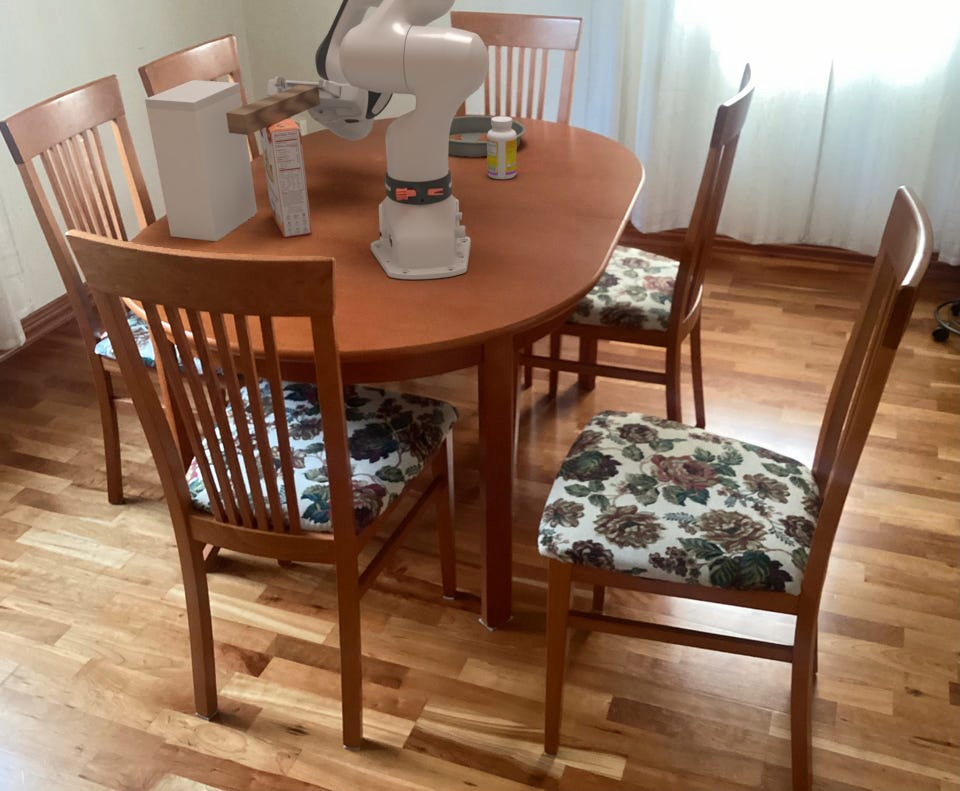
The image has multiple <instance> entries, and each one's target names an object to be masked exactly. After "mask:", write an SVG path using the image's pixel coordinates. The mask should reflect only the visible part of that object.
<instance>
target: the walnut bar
mask: <svg viewBox="0 0 960 791" xmlns="http://www.w3.org/2000/svg"><path fill="white" fill-rule="evenodd" d="M318 105H320V98H319V88H318V86H311V85H298V86H296V87H293V88H291V89H288V90H285V91H283V92H280V93H277V94H275V95H272V96H269V97H267V96H266V97H265V98H262V99H259V100H256V101H254V102H251V103H249V104H246V105H242V106H243V107H240V108H238V109H235V110H232V111H230V112H227V113H226V115H227V122H228V129H229V133H235V134H243V135H247V136H248V135H251V134H253V133H256V132H258V131H260V130H261V129H263V128H266V127H268V126H270V125H273V124H275V123H277V122H280V121H282V120H284V119H287V118H289V117H291V118H292V117H294V116H296V115H298V114H300V113H301V114H302V113H303V112H306V111H308V109H311V108H313V107H315V106H318Z"/></svg>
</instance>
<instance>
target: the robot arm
mask: <svg viewBox="0 0 960 791" xmlns="http://www.w3.org/2000/svg"><path fill="white" fill-rule="evenodd" d="M455 2H456V0H342V3H341V4H340V6H339V9H338V11H337V12H336V15H335V17H334V20H333V21H332V24H331V26H330V28H329V30H328V32H327V33H326V35H325V37H324V39H323V40H322V42H321V43H319V44H320V45H319V46H318V48H317V49H316V52H315V57H314V58H315V59H314V60H315V62H314V63H315V68H316V73H317V74H318V76H319V77H320V78H321V79H319V80H318V82H317V81H305V80H304V81H302V80H288V79H286V78H284V77H283V76H282V77H281V76H275V77H274V79H273V78H272V79H269V80H268V81H267V84H266V89H265V95H266V98H267V97H269V96H272V95H275V94H277V93H280V92H283V91H285V90H288V89H291V88H293V87H296V86H298V85H311V86H318V88H319V98H320V105H318V106H315V107H313V108H311V109H308V110H307V112H308V115H309V116H310V118H311V119H313V120H314V121H315V122H317V123H318V124H319V125H321V126H322V127H324V128H326V129H328V130H329V131H330V132H332V133H333V134H334V135H336V136H338V137H340V138H343V139H345V140H348V141H358V140H362V139H364V138H366V137H367V136H368V135H369V134H370V133H371V131H372V130H373V127H374V123H375V122H374V119H375V118H376V117H377V116H379V115H380V114H381V113H382V112H383V111H384V110H385V109H386V108H387V106H388V105H389V103H390V102H391V99H392V98H393V95H394V94H395V95H396V94H398V95H399V94H400V95H413V96H415V107H414V109H413V110H411V111H408V112H406V113H404V114H402V115H400V116H398V117H397V118H396V119H394V120H393V121H392V122H391V123H390V124H389V125H388V126H387V129H386V132H385V137H384V138H385V139H384V140H385V141H384V142H385V153H386V154H385V155H386V157H385V158H386V172H385V175H384V187H385V194H386V196H385V197H384V199H383V200H382V201H381V203H378V204H379V205H378V217H379V223H378V225H379V239H377V240H375V241H373V242H371V243H370V251H371V252H372V253H373V255H374V257H375V258H376V260H377V261H378V262H379V264H380V266H381V267H382V268H383V270H384V272H385V273H386V275H387V276H388V277H390V278H394V279H400V280H433V279H441V278H448V277H449V278H450V277H454V276H458V275H461V274H464V273H467V271H468V266H469V258H470V252H471V248H472V246H471V245H472V240H471V237H470V236H467V235H466V226H465V225H460V221H462V220H463V212H461V211H460V201H459V199H457V197H455V196H454V195H453V194H452V193H453V190H452V189H453V187H452V186H453V180H452V174H451V170H449V154H448V150H449V134H450V128H451V124H452V121H453V118H454V117H456V114H457V112H458V110H459V109H460V107H461V106H462V104H463V103H465V101H466V100H467V99H468V98H469V97H471V95H473V94H475V92H477V91H478V90H479V89H480V88H481V87H482V86H483V84H484V82H485V80H486V78H487V75H488V72H489V65H490V59H489V52H488V49H487V47H486V45H485V42H484V41H483V40H482V38H481V37H480V36H479V34H477V33H476V32H472V31H468V30H464V29H461V28H456V27H452V26H432V25H431V26H429V24H430V23H432V22H434V21H436V20H437V19H439V18H442V17H443V16H446V14H447V13H448V12H449V11H450V10H451V9H452V7H453V6H454V4H455ZM371 7H372V8H373V7H375V8H376V9H375V11H373V12H372V14H371V15H369V16H368V17H367V18H366V19H365V20H364V21H363V19H364V18H365V15H366V13H367V11H368V9H370V8H371ZM427 25H428V26H427Z"/></svg>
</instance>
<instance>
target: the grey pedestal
mask: <svg viewBox="0 0 960 791" xmlns="http://www.w3.org/2000/svg"><path fill="white" fill-rule="evenodd" d="M144 103H145V106H146V112H147V117H148V123H149V129H150V133H151V138H152V143H153V150H154V154H155V159H156V165H157V171H158V175H159V182H160V185H161V190H162V197H163V201H164V206H165V213H166V218H167V222H168V227H169V228H168V229H169V232H170V237H176V238H184V239H192V240H201V241H209V242H210V241H211V242H218V241H219V240H221V239H223V238H224V237H225V236H228V234H230V233H231V232H232V231H234V230H235V229H237V228H238V227H240V226H242V225H243V224H244V223H246V222H247V221H249V220H250V219H252V218H253V217H254V216H256V215H257V214H258V210H257V209H258V208H257V202H256V201H257V200H256V194H255V187H254V180H253V174H252V167H251V166H252V165H251V158H250V150H249V145H248V144H249V143H248V135H243V134H235V133H229V129H228V122H227V115H226V113H227V112H230V111H232V110H235V109H238V108H240V107H243V106H244V105H243V99H242V94H241V86H240V82H226V81H214V80H213V81H211V80H197V79H193V80H191V81H187V82H185V83H182V84H180V85H177V86H175V87H173V88H172V87H171V88H169V89H168V90H165V91H162V92H159V93H157V94H155V95H152V96H149V97H146V98H144ZM256 213H257V214H256ZM255 214H256V215H255ZM251 217H252V218H251ZM248 219H249V220H248Z"/></svg>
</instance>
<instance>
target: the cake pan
mask: <svg viewBox="0 0 960 791" xmlns="http://www.w3.org/2000/svg"><path fill="white" fill-rule="evenodd" d="M493 117H494V115H492V116H490V115H462V116H454V118H453V121H452V124H451V128H450V134H449V136H452V135H462V134H463V135H462V136H461V137H460V138H461V139H462V140H455V139H449V150H448V155H451V156H455V155H457V157H464V156H468V157H467V158H482V157H481V156H487V141H477V140H478V139H479V138H481V137H484V136H479V135H482V134H484V133H486V134H487V133H488V132H489V131H490V130H491V129H492V125H491V119H492V118H493ZM511 129H513V130H514V131H515V132H516V135H517V147H518V148H519V147H520V143H521V139H522V136H523V135H524V134H525V133H526V132H527V127H526V126H525V125H524V124H523V123H521V122H520V121H517V120H514V119H512V126H511ZM486 136H487V135H486ZM454 137H455V136H454Z"/></svg>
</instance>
